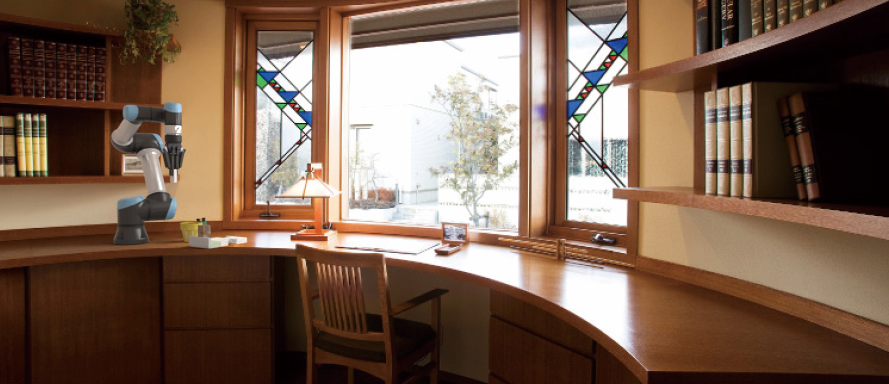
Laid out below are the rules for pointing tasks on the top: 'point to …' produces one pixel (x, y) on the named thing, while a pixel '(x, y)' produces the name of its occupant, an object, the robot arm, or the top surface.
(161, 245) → the top surface
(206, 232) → the walnut block
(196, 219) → the binoculars
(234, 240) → the trap board
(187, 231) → the plant pot
